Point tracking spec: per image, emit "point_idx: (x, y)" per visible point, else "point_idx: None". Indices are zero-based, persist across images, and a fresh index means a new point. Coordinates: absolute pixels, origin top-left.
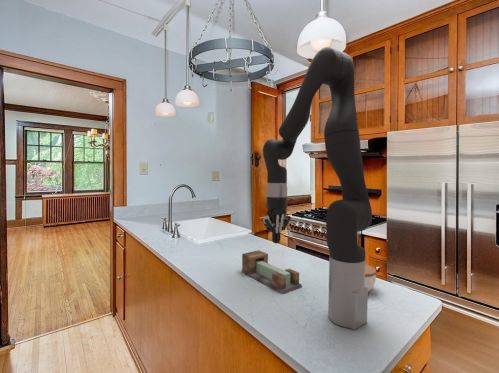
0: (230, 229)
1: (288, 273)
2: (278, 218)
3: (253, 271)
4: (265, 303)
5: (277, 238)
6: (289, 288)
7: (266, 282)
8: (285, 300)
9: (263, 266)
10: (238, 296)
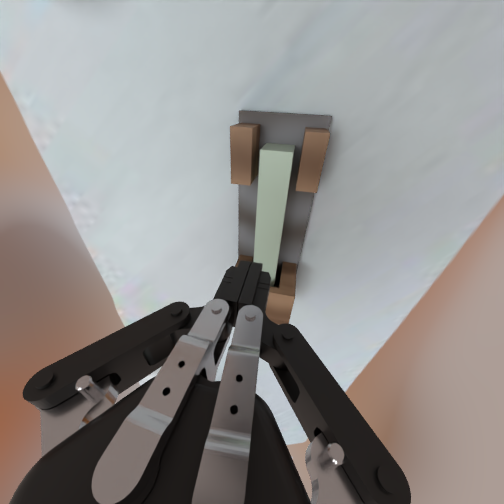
0: None
1: (269, 151)
2: (214, 448)
3: (288, 265)
4: (436, 105)
5: (253, 278)
6: (297, 117)
7: (311, 202)
8: (370, 68)
9: (278, 252)
10: (432, 203)
